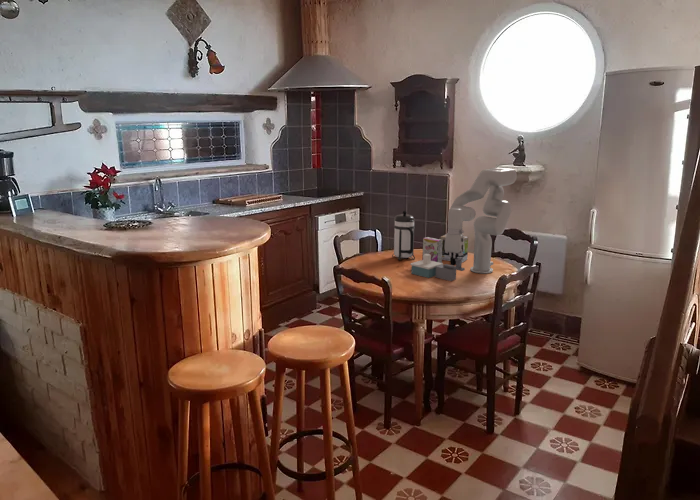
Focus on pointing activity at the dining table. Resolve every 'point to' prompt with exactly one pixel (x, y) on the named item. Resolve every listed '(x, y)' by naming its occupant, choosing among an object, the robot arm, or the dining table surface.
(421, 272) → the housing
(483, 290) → the dining table surface
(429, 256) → the lid
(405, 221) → the coffee press
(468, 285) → the dining table surface
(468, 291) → the dining table surface
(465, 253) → the tea box
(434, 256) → the candy bar box
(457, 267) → the bolt
